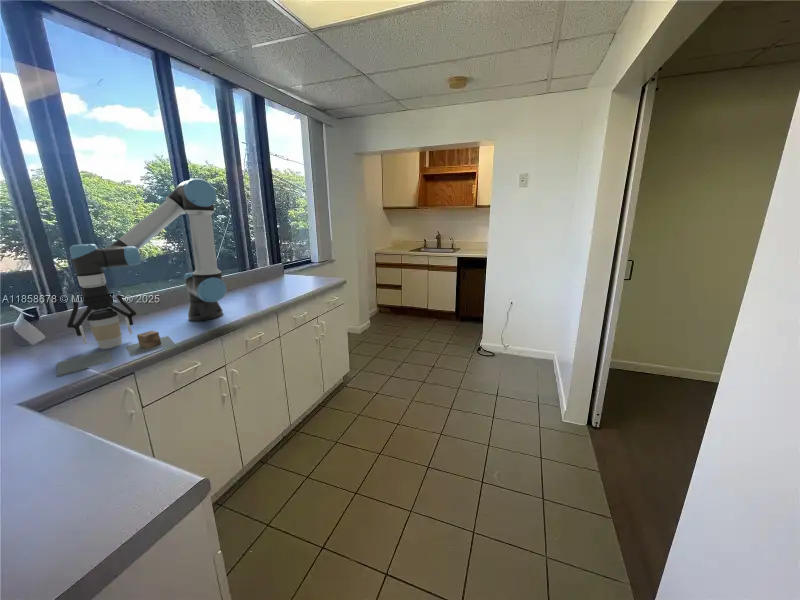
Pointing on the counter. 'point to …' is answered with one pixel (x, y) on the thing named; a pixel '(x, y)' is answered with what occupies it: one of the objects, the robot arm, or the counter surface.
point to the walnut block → (149, 339)
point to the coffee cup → (105, 328)
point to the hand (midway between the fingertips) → (108, 337)
